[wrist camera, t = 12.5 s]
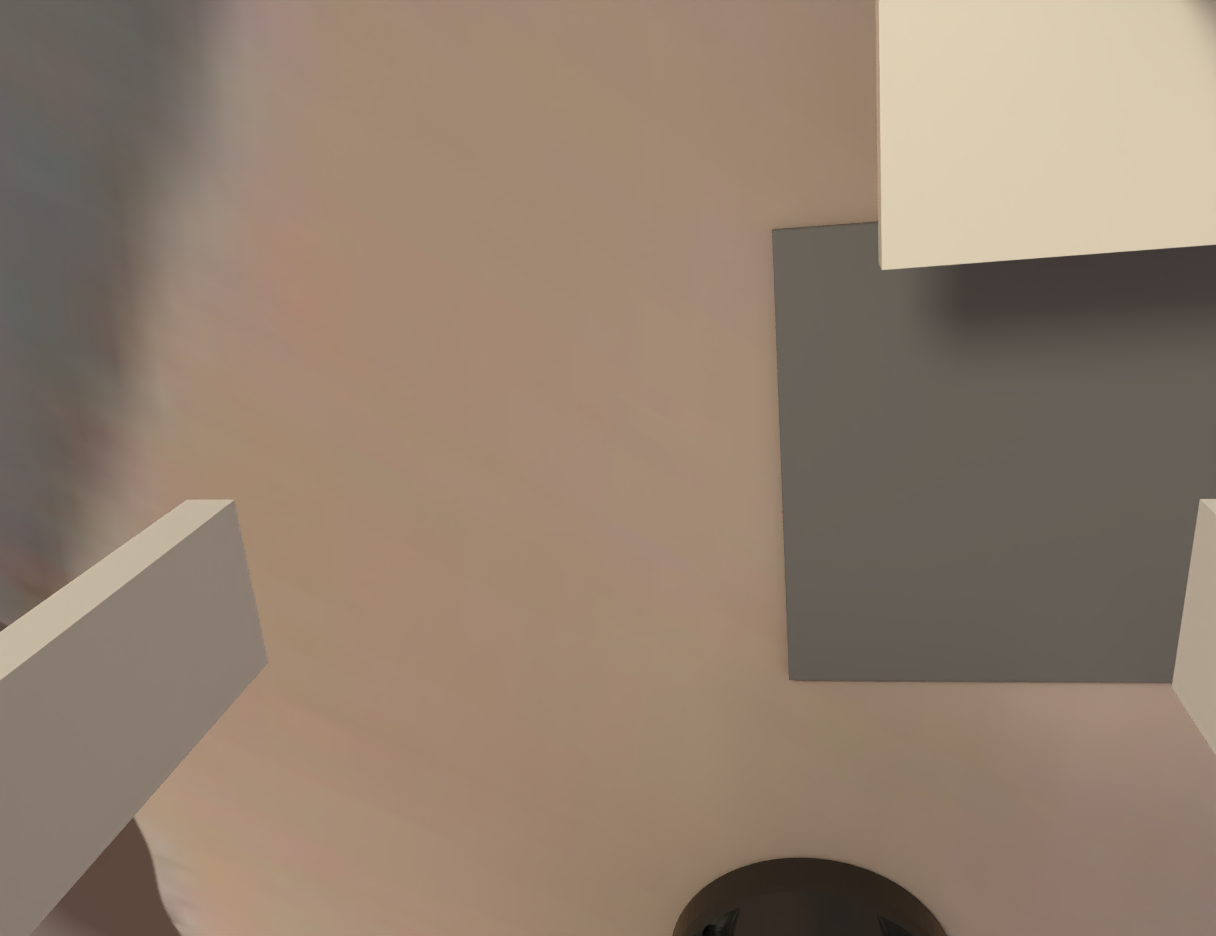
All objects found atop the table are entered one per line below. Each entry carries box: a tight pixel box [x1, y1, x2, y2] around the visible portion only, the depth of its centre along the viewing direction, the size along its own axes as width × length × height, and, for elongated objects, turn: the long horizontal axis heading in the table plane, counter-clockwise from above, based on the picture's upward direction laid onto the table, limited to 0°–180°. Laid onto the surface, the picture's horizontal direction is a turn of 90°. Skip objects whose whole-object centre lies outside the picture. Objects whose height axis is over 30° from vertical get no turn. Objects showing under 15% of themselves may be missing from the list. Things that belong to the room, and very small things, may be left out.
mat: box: [772, 222, 1216, 683], centre depth 42 cm, size 21×21×1 cm
